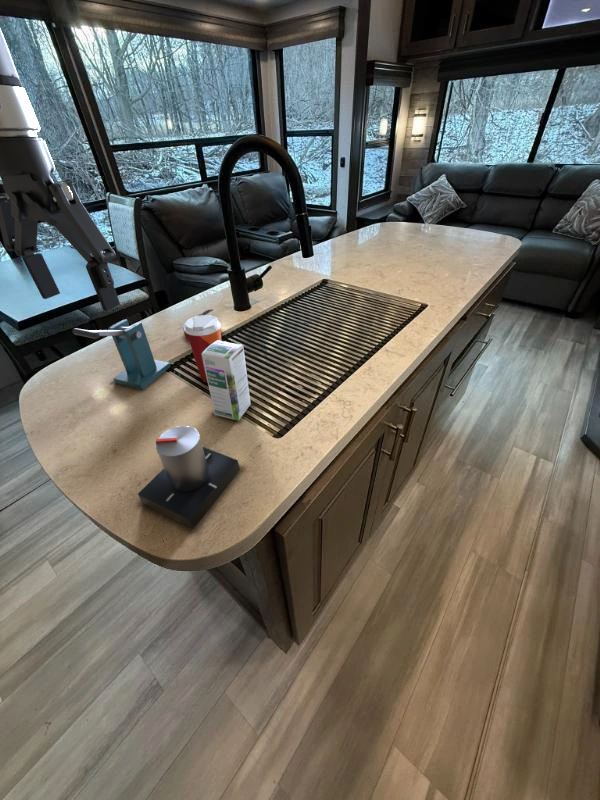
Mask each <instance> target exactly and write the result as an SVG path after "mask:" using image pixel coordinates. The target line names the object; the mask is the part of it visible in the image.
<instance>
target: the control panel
mask: <svg viewBox="0 0 600 800" xmlns="http://www.w3.org/2000/svg"><path fill="white" fill-rule="evenodd" d="M202 447H203V450H204V454H205V457H206V461H207V464H208V468H209V477H208V479H207V481H206V482H205V483H204V484H203V485H202V486H201V487H199V488H198V489H196V490H193V491H189V492H181V491H177V490H175V489H174V488H173V487H172V486H171V484H170V481H169V479H168V476H167V474H166V472H165V469H164V467H163V468H162V469H161V470H160V471H159V472H158V473H157V474H156V475H155V476H154V477H153V478H152V479H151V480H150V481H149V482H148V483H147V484H146V485H145V486H144V487H143V488H141V490H140V491H139V492H138V493H137V496H138V498H139V500H140V502H141V504H142V505H144V506H146V507H148V508H151V509H152V510H154V511H156V512H158V513H160V514H162V515H164V516H166V517H168V518H170V519H172V520H174V521H176V522H178V523H180V524H182V525H184V526H186V527H188V528H190V529H192V530H194V529H195V528H196V527H197V525H198V524H199V522H200V521H202V519H203V518H204V516H205V515H206V514H207V513H208V511H210V509H211V508H212V506H213V505H214V504H215V503H216V501H217V500H218V498H219V497H220V496H221V495H222V493H223V492H224V491H225V490H226V488H227V487H228V486H229V484H231V482H232V481H233V480H234V478H235V477H236V476H237V474H238V473H239V472H240V471H241V469H240V463H239V460H238V459H235V458H233V457H231V456H228V455H225V454H223V453H220V452H217V451H215V450H212V449H210V448H207V447H205V446H202Z"/></svg>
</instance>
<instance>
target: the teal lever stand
mask: <svg viewBox="0 0 600 800" xmlns="http://www.w3.org/2000/svg"><path fill="white" fill-rule="evenodd" d="M119 327H129V328H127V329H126V330H124V334H125V336H126V339H123V338H119V336H111V337H112V339H113V343H114V344H115V347H116V349H117V353H118V355H119V357H120V359H121V362H122V364H123V366H124V369H125V370H123V371H121V372H120V373H119V374H117V375H116V376H114V377H113V378H112V379H113V382H114V383H115V384H119V385H123V386H128V387H131V388H135V389H139V390H144V389H145V388H146V387H147V386H148V385H150V384H151V383H153V382H154V381H155V380H156V379H158V378H159V377H160V376H161V375H163V374H164V373H165V372H166V371H167V370H169V369H170V368H171V363H170V362H167V361H162V360H159V359H155V358H154V355H153V352H152V350H151V346H150V343H149V341H148V337H147V335H146V331H145V328H144V325H143V322H139V321H137V322H136V323H134V324H132V325H131V326H130V324H129V321H128V319H122V320H121V321H119V322H116V323H115V324H112V325H111V326H109V327H108V330H119Z"/></svg>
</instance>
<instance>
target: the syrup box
mask: <svg viewBox="0 0 600 800" xmlns="http://www.w3.org/2000/svg"><path fill="white" fill-rule="evenodd" d="M245 356H246V355H245V349H244V345H243V344H241V343H240V344H239V343H233V342H228V341H223V340H221V341H219V340H217V341H216V342H214V343H213V344H211V345H210V346H209V347H207V348H206V349H205V350H204V351H203V353H202V359H203V364H204V368H205V373H206V377H207V381H208V383H207V385H208V390H209V395H210V399H211V404H212V409H213V414H214V416H216V417H217V416H218V417H222V418H226V419H228V420H229V419H230V420H234V421H237V422H239V421H240V419H242V417H243V415H245V413H246V412H247V410H248V409H249V407H250V406H251V396H250V388H249V380H248V374H247V373H248V372H247V364H246V358H245Z"/></svg>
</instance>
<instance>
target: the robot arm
mask: <svg viewBox="0 0 600 800" xmlns="http://www.w3.org/2000/svg"><path fill="white" fill-rule="evenodd" d="M40 130H41V127H40V124H39V121H38V119H37V117H36V114H35V112H34V108H33V107H32V104H31V102H30V100H29V97H28V95H27V92H26V90H25V88H24V86H23V82H22V81H21V78H20V76H19V74H18V70H17V69H16V65H15V63H14V60H13V58H12V55H11V53H10V50H9V47H8V44H7V42H6V39H5V37H4V34H3V31H2V28H1V27H0V232H1V236H2V240H3V241H2V242H3V244H4V247H5V249H6V250H7V251H9V252H12V251H13V252H15V254H16V255H17V256H18V257H20V258H21V259H22V261H23V263H24V266H25V267H26V270H27V271H28V273H29V274H30V277H31V278H32V280H33V282H34V284H35V287H36V288H37V290H38V292H39V294H40V296H41V298H42V299H43V300H47V299H50V298H52V297H55V296H58V295H60V294H61V292H60V289H59V287H58V286H57V283H56V281H55V279H54V277H53V274H52V273H51V270H50V268H49V266H48V264H47V261H46V260H45V257H44V255H43V254H42V253H39V252H41V249H40V248H39V247H37V244H38V243H37V242H38V227H39V221H40V222H46V223H47V225H48V226H52V227H54V228H55V229H56V230H57V231H58V232H59V233H60V234H61V235H62V236H63V238H65V240H66V241H67V242H68V243H69V245H71V246H72V247H73V248H74V249H75V251H77V253H78V254H79V255H80V256H81V257H82V258H83V259H84V260H85V261H86V265H85V269H86V272H87V274H88V276H89V278H90V281H91V283H92V286H93V288H94V291H95V293H96V296H97V298H98V301H99V303H100V306H101V308H102V310H103V311H105V312H108V311H110V310H112V309H114V308H116V307H118V306H120V305H121V302H120V300H119V297H118V293H117V291H116V288H115V281H114V279H113V276H112V272H111V270H110V267H109V265H108V263H109V262H111V261H112V260H116V258H117V253H116V252H115V250H114V249H113V247H112V245H110V243H109V242H108V240H107V238H106V237H105V235H104V234H103V233H102V231H101V229H100V228H99V227H98V225H97V224H96V222H95V220H94V219H93V218H92V216H91V215H90V213H89V212H88V210H87V208H86V207H85V206H84V204H83V202H82V201H81V199H80V197H79V194H78V192H77V191H76V188H75V186H74V184H73V183H72V182H71V181H64V182H57V183H55V182H54V181H53V178H52V176H51V173H53V172H55V170H56V166H55V164H54V161H53V159H52V156H51V154H50V151H49V148H48V146H47V144H46V140H43V138H42V137H40V136H39V137H38V135H37V132H40Z"/></svg>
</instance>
